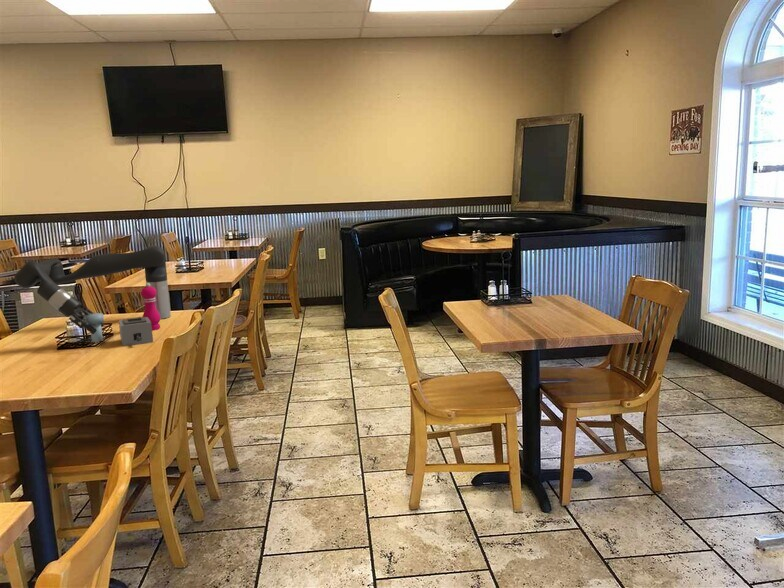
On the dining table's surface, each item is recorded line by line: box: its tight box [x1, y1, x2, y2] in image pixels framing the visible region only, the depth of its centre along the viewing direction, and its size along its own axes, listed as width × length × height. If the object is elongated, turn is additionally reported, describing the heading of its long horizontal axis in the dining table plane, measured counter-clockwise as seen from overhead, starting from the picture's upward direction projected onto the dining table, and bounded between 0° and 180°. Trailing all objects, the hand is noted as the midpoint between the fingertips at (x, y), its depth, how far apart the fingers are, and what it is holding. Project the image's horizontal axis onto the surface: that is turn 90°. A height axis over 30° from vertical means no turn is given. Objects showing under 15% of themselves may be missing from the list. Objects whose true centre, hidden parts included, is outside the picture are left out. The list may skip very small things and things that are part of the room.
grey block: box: [118, 316, 154, 347], centre depth 250 cm, size 11×11×9 cm
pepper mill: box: [140, 283, 161, 331], centre depth 268 cm, size 7×7×20 cm
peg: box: [86, 312, 105, 343], centre depth 249 cm, size 6×6×11 cm
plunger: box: [134, 333, 141, 341], centre depth 245 cm, size 8×2×2 cm, turn 27°
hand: (98, 329), depth 249 cm, fingers open, 8 cm apart
